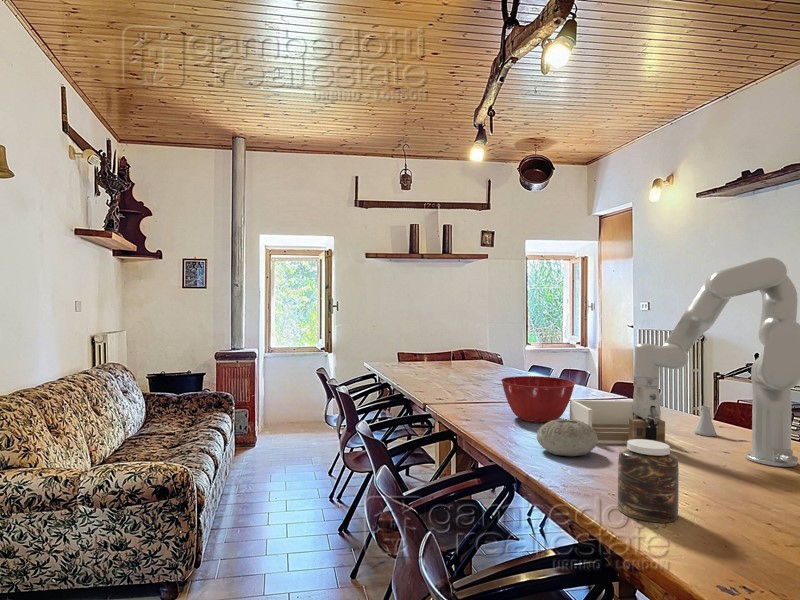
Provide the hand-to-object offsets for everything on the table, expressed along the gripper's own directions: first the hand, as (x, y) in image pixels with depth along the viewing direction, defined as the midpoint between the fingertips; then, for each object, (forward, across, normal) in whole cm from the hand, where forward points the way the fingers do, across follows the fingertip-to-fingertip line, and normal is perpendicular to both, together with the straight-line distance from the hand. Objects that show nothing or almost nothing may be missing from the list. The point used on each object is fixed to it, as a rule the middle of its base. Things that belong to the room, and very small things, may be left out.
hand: (644, 436), depth 172 cm
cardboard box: (+4, -1, 0) cm, 4 cm away
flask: (+3, +20, -31) cm, 37 cm away
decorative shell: (+4, -8, +27) cm, 29 cm away
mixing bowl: (+4, +40, +24) cm, 47 cm away
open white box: (+4, +13, +5) cm, 14 cm away
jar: (+4, -55, +25) cm, 60 cm away
